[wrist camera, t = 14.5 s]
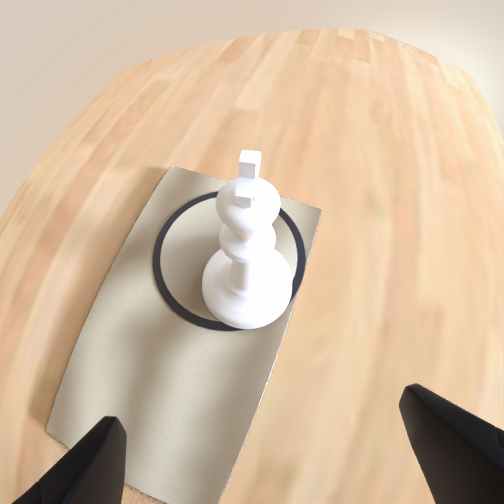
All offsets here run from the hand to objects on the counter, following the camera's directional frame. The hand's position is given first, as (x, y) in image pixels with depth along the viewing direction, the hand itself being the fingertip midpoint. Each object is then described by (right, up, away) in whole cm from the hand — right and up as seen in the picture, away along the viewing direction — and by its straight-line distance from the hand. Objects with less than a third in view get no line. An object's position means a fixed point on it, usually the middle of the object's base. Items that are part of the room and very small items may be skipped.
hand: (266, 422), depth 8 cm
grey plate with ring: (-4, +1, +8) cm, 10 cm away
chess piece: (-1, +3, +9) cm, 10 cm away
